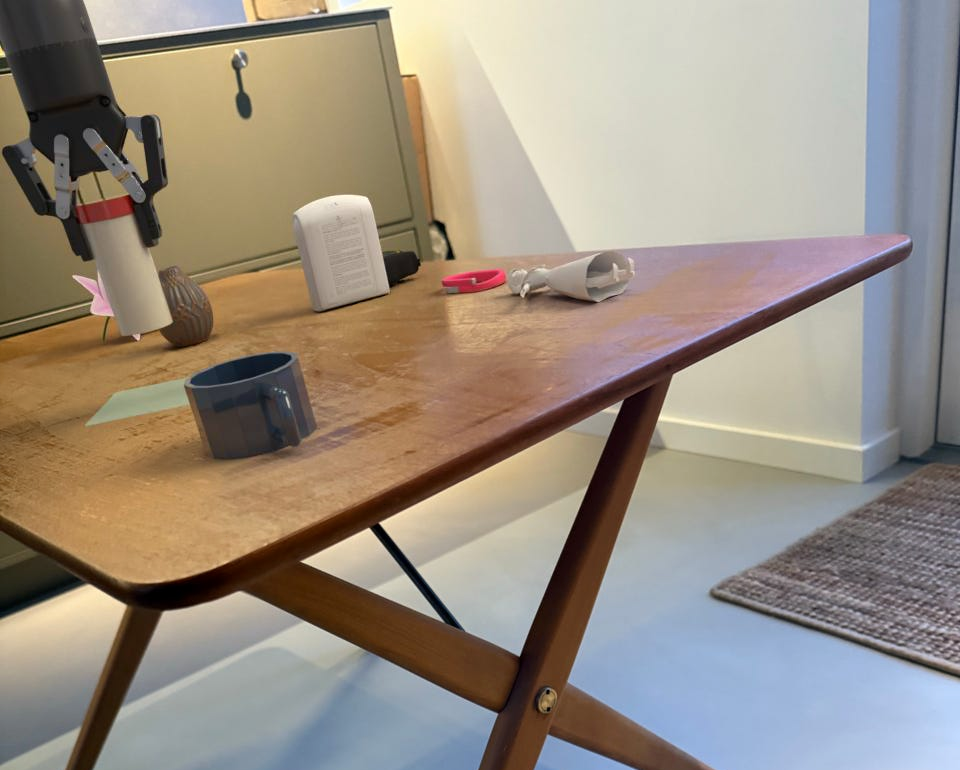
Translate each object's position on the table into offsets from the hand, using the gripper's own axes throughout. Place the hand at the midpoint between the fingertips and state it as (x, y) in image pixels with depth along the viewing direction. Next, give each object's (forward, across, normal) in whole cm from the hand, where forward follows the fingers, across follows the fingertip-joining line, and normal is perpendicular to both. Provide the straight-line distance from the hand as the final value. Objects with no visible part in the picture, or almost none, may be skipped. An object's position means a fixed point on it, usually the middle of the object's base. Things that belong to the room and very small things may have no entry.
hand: (121, 252), depth 94 cm
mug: (+14, -13, +23) cm, 30 cm away
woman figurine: (+14, -41, -10) cm, 45 cm away
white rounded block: (+14, -17, -33) cm, 39 cm away
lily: (+14, +14, -41) cm, 46 cm away
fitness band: (+14, -32, -26) cm, 44 cm away
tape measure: (+14, -22, -40) cm, 48 cm away
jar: (+7, 0, 0) cm, 7 cm away
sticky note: (+14, 0, 0) cm, 14 cm away
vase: (+14, +3, -28) cm, 31 cm away
